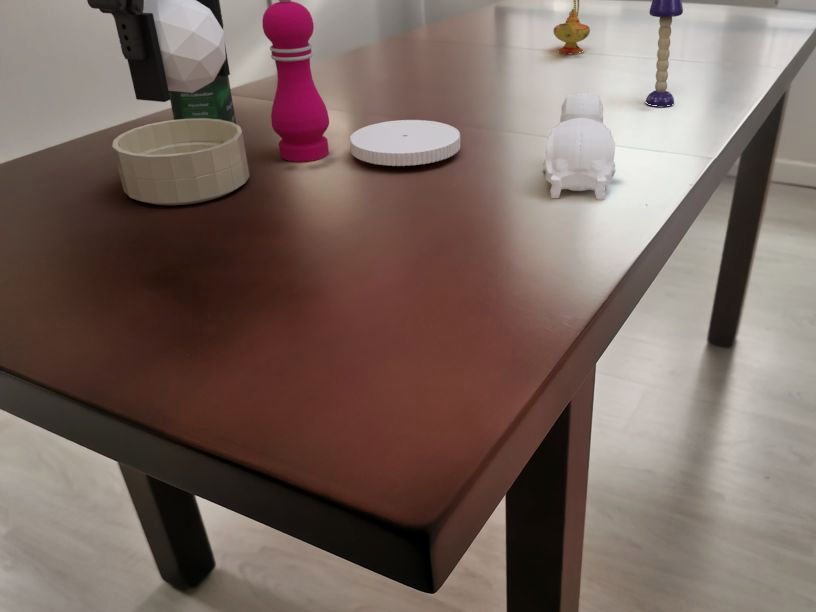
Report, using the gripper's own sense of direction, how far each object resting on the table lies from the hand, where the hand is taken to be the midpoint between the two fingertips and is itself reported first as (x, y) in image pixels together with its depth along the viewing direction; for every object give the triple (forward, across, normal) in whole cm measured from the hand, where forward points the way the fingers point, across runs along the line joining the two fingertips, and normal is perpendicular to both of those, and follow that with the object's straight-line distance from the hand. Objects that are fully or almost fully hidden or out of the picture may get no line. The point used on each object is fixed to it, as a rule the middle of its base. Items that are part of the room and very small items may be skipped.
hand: (185, 86), depth 68 cm
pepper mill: (+17, +32, +8) cm, 37 cm away
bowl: (+17, +18, +16) cm, 29 cm away
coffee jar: (+17, +35, +25) cm, 47 cm away
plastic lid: (+17, +35, -5) cm, 39 cm away
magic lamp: (+17, +98, -12) cm, 100 cm away
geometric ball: (+1, 0, 0) cm, 1 cm away
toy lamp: (+17, +67, -32) cm, 76 cm away
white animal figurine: (+17, +32, -28) cm, 46 cm away
